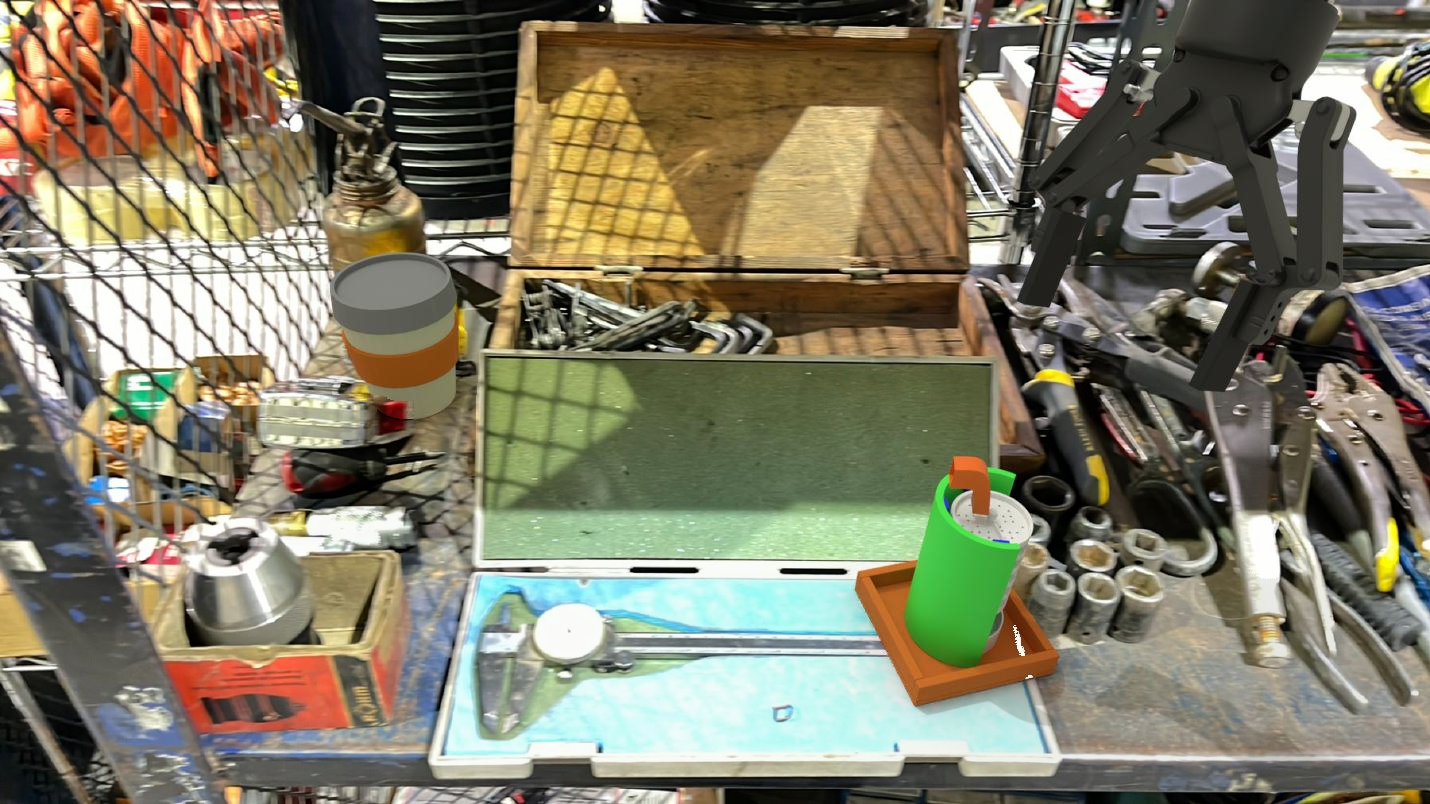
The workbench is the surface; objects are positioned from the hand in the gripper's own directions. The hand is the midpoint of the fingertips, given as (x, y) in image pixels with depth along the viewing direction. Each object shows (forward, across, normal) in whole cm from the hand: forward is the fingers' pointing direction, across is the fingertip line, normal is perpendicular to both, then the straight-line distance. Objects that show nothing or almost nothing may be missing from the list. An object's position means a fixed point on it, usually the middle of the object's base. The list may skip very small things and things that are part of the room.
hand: (1111, 343), depth 58 cm
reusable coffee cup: (+34, +61, +25) cm, 75 cm away
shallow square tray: (+30, +8, -8) cm, 32 cm away
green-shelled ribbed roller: (+29, +8, -8) cm, 31 cm away
